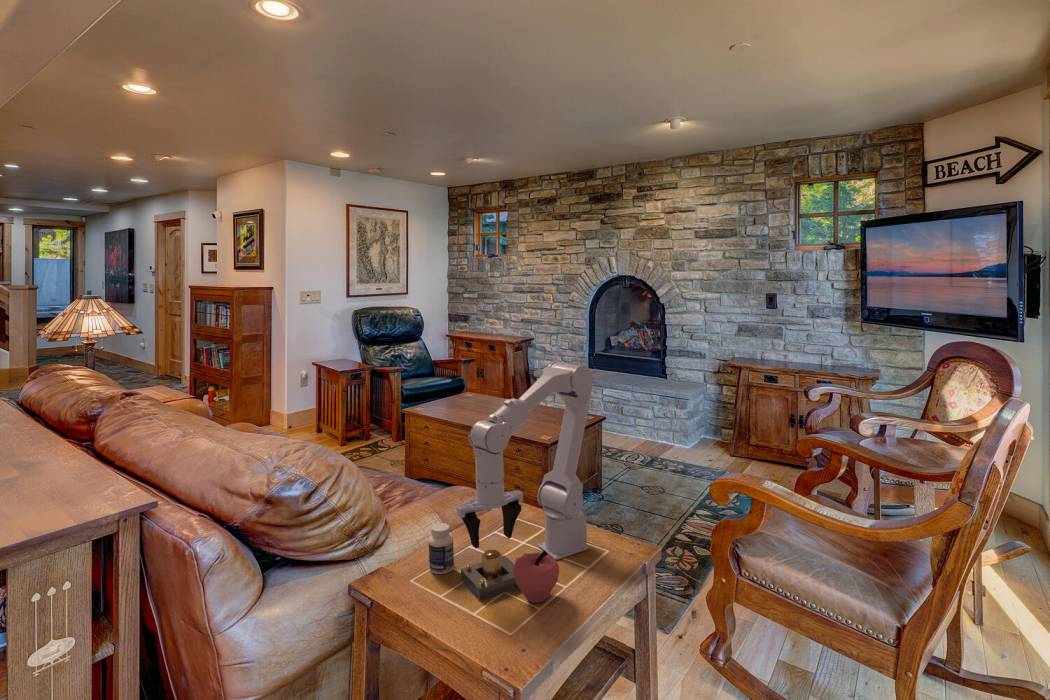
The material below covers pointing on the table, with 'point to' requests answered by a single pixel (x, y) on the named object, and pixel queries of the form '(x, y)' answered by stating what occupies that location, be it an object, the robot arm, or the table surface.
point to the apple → (536, 575)
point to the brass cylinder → (491, 564)
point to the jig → (486, 589)
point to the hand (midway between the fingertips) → (491, 541)
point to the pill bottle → (441, 549)
